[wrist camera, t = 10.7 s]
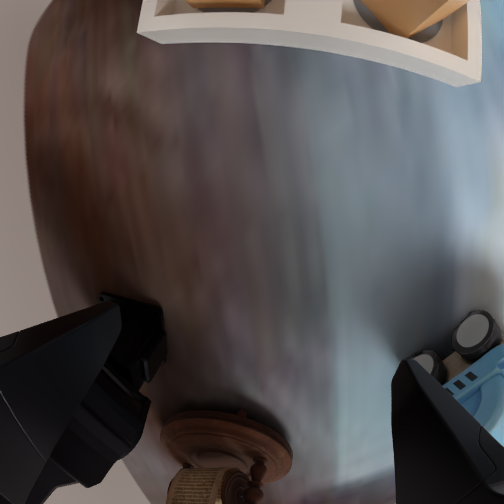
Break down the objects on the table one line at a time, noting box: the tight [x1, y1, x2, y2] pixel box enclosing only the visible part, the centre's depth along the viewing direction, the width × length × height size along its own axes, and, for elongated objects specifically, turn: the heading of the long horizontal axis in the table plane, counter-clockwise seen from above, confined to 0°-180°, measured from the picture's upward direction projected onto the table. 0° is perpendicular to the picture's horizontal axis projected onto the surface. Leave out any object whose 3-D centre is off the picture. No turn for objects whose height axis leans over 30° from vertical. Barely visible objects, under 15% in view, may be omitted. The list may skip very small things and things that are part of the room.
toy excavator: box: [409, 310, 504, 447], centre depth 16 cm, size 9×17×17 cm, turn 137°
